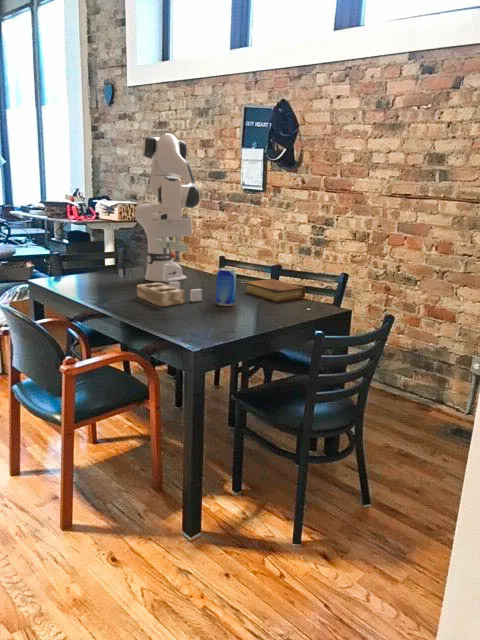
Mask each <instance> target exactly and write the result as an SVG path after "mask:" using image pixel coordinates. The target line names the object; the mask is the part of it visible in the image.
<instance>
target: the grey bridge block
mask: <svg viewBox="0 0 480 640" xmlns="http://www.w3.org/2000/svg"><path fill="white" fill-rule="evenodd" d="M166 242H167V243H168V244H169V245H168V246H169V247H168V248H164V243H163V241H162V240H161V239H155V246H157V247H162V248H163V256H161V259H169V256H167V249H169V250H171V251H175V253H174V254H175V258H172V260H173V262H176V263H181V262H182V259H181V258H180V253H184V252H185V253H186V252H187V253H188V250H189V245H188V244H187V243H183V242H180V241H179V242H175V241H174V240H170V239H169V240H166Z"/></svg>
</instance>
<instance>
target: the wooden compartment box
mask: <svg viewBox="0 0 480 640" xmlns="http://www.w3.org/2000/svg"><path fill="white" fill-rule="evenodd" d="M136 293H137V294H136V297H137V298H138V299H141V300H144V301H146V302H149V303H151V304H154V305H156V306H159V307H166V306H173V305H174V306H175V305H179V304H185V295H186V294H185V290H184V289H181V288H180V289H178V288H175V287H172V286H169V284H166V283H164V282H161V281H158V282H152V283H151V282H149V283H141V284H136Z"/></svg>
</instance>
